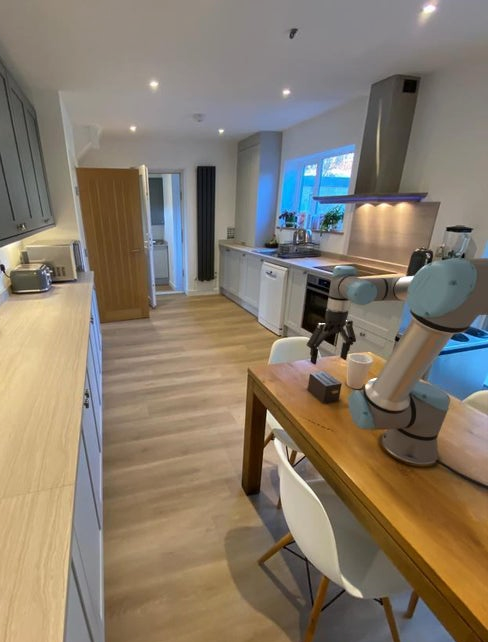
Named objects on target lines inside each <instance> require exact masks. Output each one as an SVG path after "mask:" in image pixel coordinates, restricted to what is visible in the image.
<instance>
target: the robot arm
mask: <svg viewBox="0 0 488 642" xmlns="http://www.w3.org/2000/svg"><path fill="white" fill-rule="evenodd" d="M330 278H331V279H330V285H329V292H328V299H327V304H326V310H325V314H324V319H325V322H324V323H323V322H322V323H321V322H317V324H316V327H315V329H314V331H313V332H312V334H311V335H310V337H309V339H308V341H307V343H306V346H307V347H308V348H309V349H310V350H309V351H310V352H309V355H310V361H309V362H310V363H311V364H312V365H314V366H315V365H317V361H318V355H319V348H318V347H320V345H321V344H322V343H323V342H325V339H327V337H329V336H330V335H334V334H339V335H340V336H341V338H342V339H343V342H342V346H341V351H340V356H339V358H341V359H342V360H344V361H347V359H348V355H349V354H348V353H349V351H350V350H351V346H353V345H354V343H356V342H357V337H356V334H355V330H354V327H353V325H354V324H353V323H354V321H353V320H351V319H349V318H348V316H349V310H350V307H351V303H353V304H355V305H359V306H367V305H369V304H371V303H372V302H385V301H386V302H387V301H388V302H389V301H390V302H391V301H395V302H396V301H399V302H406V303H407V305H408V306H407V307H408V308H409V314H410V316H411V319H410V321H409V323H408V325H407V326H406V328H405V330H404V331H403V333H402V335H401V336H400V338H399V340H398V342H397V343H396V345H395V347H394V348H393V350H392V352H391V353H390V355H389V356H388V358H387V360H386V362H385V363H384V365H383V367H382V369H381V370H380V372H379V373H378V375H377V377H375V378H372V379H370V380H368V381H367V382H366V384H365V385H364V386H363V388H362V389H361V390H358V389H356V390H353V391H351V392H350V393H349V395H348V400H347V401H348V402H347V403H348V411H349V414H350V417H351V419H352V421H353V424H355V426H357V428H358V429H361V430H363V431H379V430H382V431H383V430H385V432H384V433H383V434H382V436H381V439H380V446H381V448H382V449H383V451H384V452H385V453H386V454H387V455H388V456H390V457H391V458H393V459H394V460H396V461H398V462H400V463H403V464H404V465H408V466H411V467H417V468H428V467H432V466H434V465H435V464H436V463H437V464H439V465H440V466H441V467H443V468H445V469H446V470H448V471H450V472H451V473H453V474H455V475H456V476H458V477H459V478H462V479H463V480H466V481H468V482H470V483H472V484H474V485H477V486H479V487H482V488H484V489H486V490H488V485H487V484H484V483H483V482H480V481H478V480H475V479H473V478H471V477H469V476H467V475H465V474H463V473H461V472H459V471H457V470H456V469H454V468H452V467H451V466H449V465H448V464H446V463H444V462H443V461H442V460H439V455H440V454H439V449H438V448H439V447H438V436H439V433H440V431H441V428H442V426H443V424H444V422H445V419H446V417H447V413H448V411H449V410H450V409H449V408H450V403H451V397H450V395H449V394H448V393H447V392H446V391H444V390H443V389H441V388H440V387H438V386H435V385H433V384H431V383H428V382H425V381H421V379H422V377H424V375H425V374H426V372H427V371H428V369H429V368H430V367H431V366H432V364H433V363H434V361H435V360H436V359H437V357H438V356H439V355H440V353H441V352H442V351H443V349H444V348H445V347H446V345H447V344H448V343H449V341H450V340H451V338H452V337H453V336H454V335H458V334H462V333H465V332H467V331H468V330H469V328H470V327H471V326H472V324H473V323H474V322H475V320H476V319H477V318H478V317H479V316H488V257H483V258H482V257H481V258H462V257H451V258H447V259H439V260H435V261H432V262H430V263H427V264H426V265H424V266H422V267H421V268H420V269H419V270H418V271H416V273H415V274H414V275H408V276H391V277H365V278H364V277H363V278H362V277H359V276H357V268H356V267H355V266H350V265H337V266H335V267H334V268H333V270H332V274H331V277H330Z"/></svg>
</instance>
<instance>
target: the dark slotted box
mask: <svg viewBox="0 0 488 642" xmlns="http://www.w3.org/2000/svg"><path fill="white" fill-rule="evenodd" d="M342 385H343V383H342V382H340V381H339V380H338V379H336V378H335V377H334V376H332V375H331V374H329V372H327V371H325V370H321V371H315V372H310V373H309V377H308V384H307V391H308V392H309V393H311V394H312V395H313V396H314V397H315V398H317V400H319V401H320V402H321V403H322V404H328V403H334V402H338V401H339V399H340V395H341V390H342Z"/></svg>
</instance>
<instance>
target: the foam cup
mask: <svg viewBox="0 0 488 642" xmlns="http://www.w3.org/2000/svg"><path fill="white" fill-rule="evenodd" d="M346 362H347V364H346V386H348V387H349V388H351V389H356V390H358V389H363V388H364V384H365V382H366V379H367V377H368V374H369V372H370V370H371V367H373V362H374V359H373V357H371V356H370V355H366V354H364V353H350V354H348V355H347V359H346Z"/></svg>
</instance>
